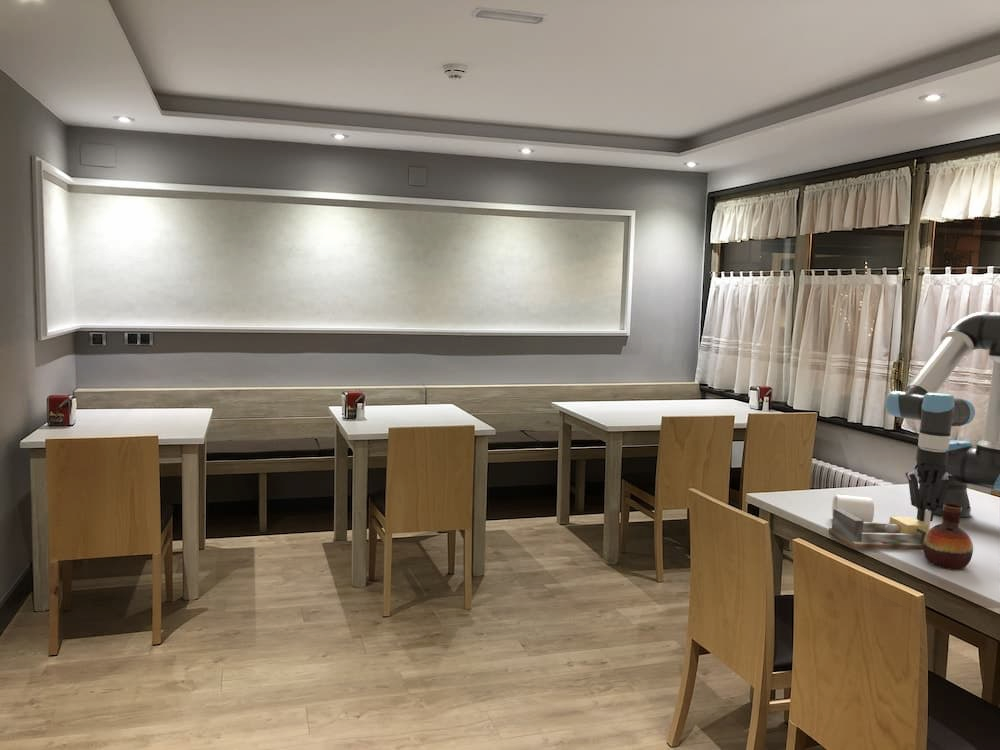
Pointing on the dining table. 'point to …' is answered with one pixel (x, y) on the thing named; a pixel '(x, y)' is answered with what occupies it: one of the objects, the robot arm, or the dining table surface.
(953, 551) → the vase
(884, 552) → the dining table surface
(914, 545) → the bench
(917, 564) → the dining table surface
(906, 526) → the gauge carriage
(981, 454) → the robot arm
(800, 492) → the dining table surface
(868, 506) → the mug
